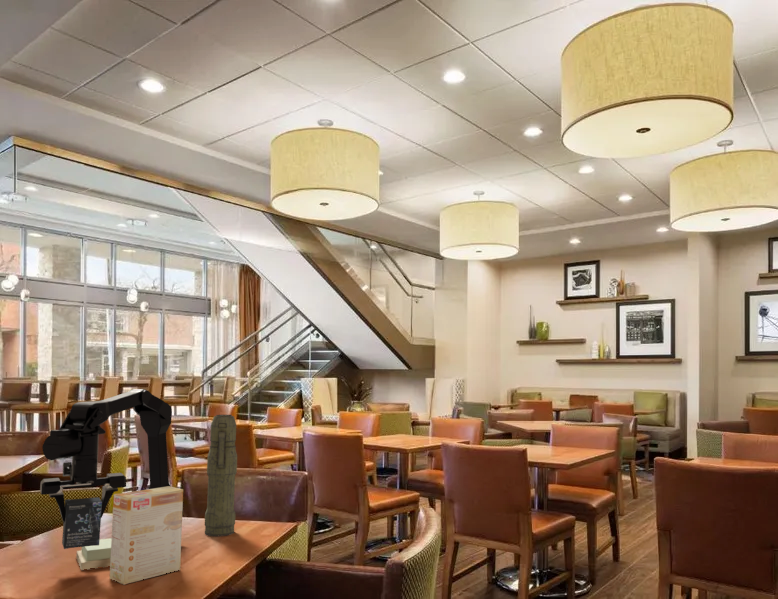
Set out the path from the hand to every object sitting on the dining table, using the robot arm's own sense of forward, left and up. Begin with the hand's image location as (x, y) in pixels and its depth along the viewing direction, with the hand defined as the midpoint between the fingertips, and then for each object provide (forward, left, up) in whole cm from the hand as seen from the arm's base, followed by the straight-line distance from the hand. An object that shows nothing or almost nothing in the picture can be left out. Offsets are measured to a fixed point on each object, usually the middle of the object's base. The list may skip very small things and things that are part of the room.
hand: (82, 519), depth 161 cm
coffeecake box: (-13, +9, -13) cm, 21 cm away
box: (0, 0, -6) cm, 6 cm away
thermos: (-40, -22, -13) cm, 48 cm away
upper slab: (-7, -7, -11) cm, 14 cm away
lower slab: (-6, -7, -13) cm, 16 cm away
